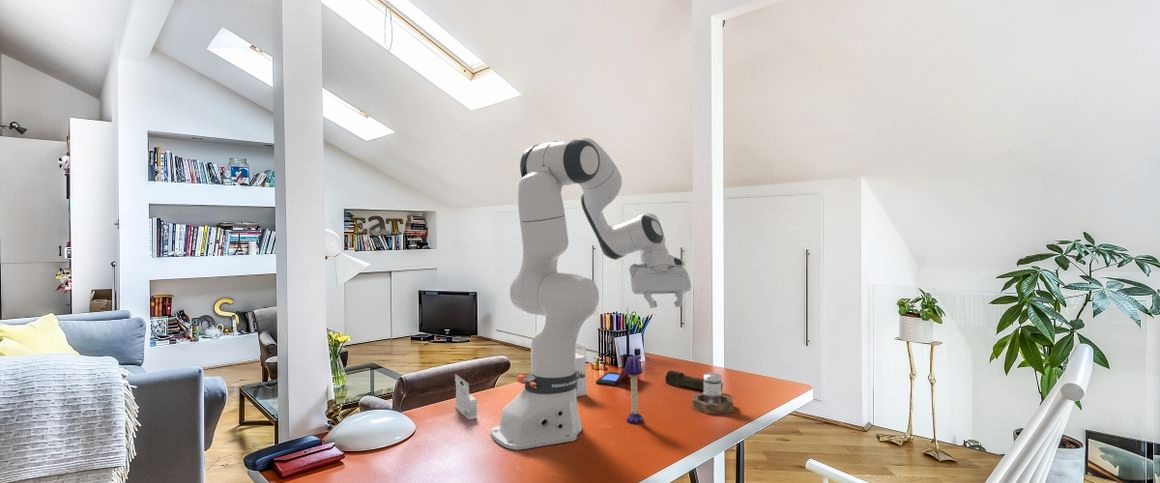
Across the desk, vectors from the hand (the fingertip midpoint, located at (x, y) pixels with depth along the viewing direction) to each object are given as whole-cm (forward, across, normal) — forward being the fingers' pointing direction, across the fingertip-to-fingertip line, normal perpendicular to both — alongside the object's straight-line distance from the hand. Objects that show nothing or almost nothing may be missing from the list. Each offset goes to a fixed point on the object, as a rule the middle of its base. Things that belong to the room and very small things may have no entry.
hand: (666, 307), depth 156 cm
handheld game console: (+16, -4, +29) cm, 34 cm away
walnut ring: (+30, +5, -3) cm, 31 cm away
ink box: (+19, -22, +26) cm, 39 cm away
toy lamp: (+31, -20, -1) cm, 36 cm away
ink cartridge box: (+21, -56, +24) cm, 65 cm away
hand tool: (+24, +12, +12) cm, 29 cm away
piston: (+30, +5, -3) cm, 31 cm away
